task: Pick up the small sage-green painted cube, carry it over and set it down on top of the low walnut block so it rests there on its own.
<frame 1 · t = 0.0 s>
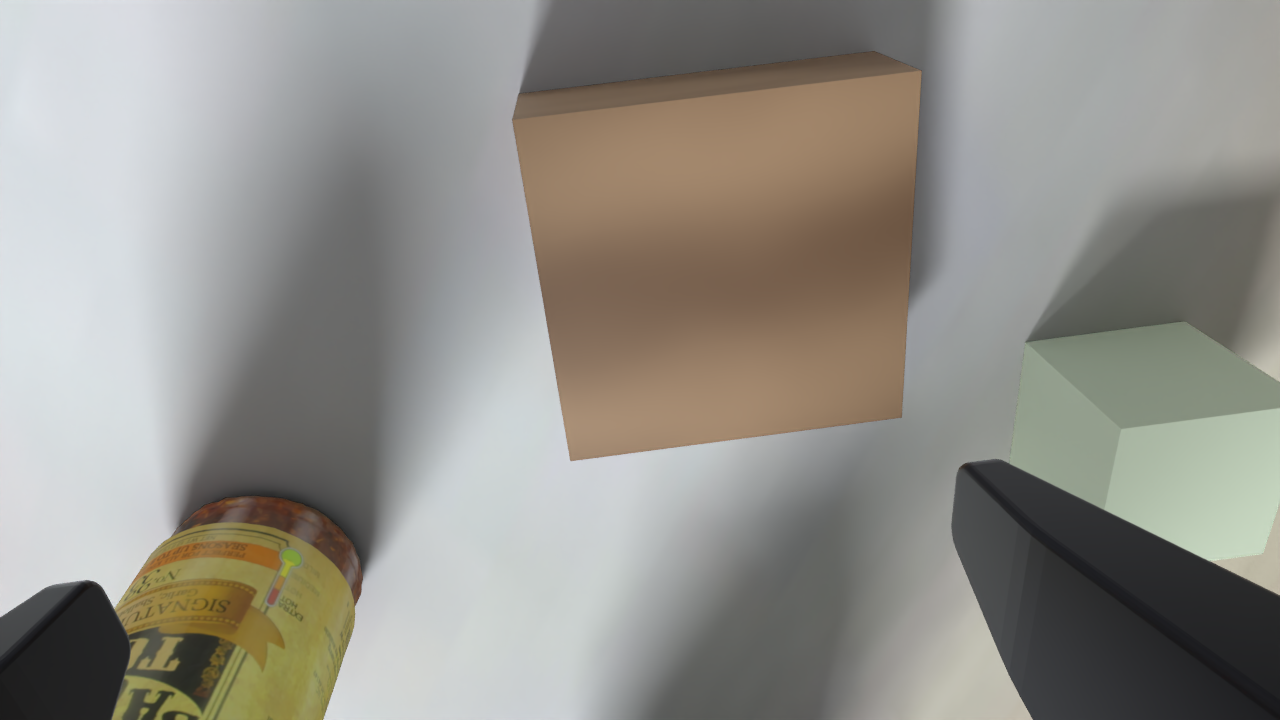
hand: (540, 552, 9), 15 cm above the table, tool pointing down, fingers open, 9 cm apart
sage cube: (1090, 399, 27), on the table
walnut block: (706, 237, 23), on the table
sauce bottle: (267, 558, 27), on the table
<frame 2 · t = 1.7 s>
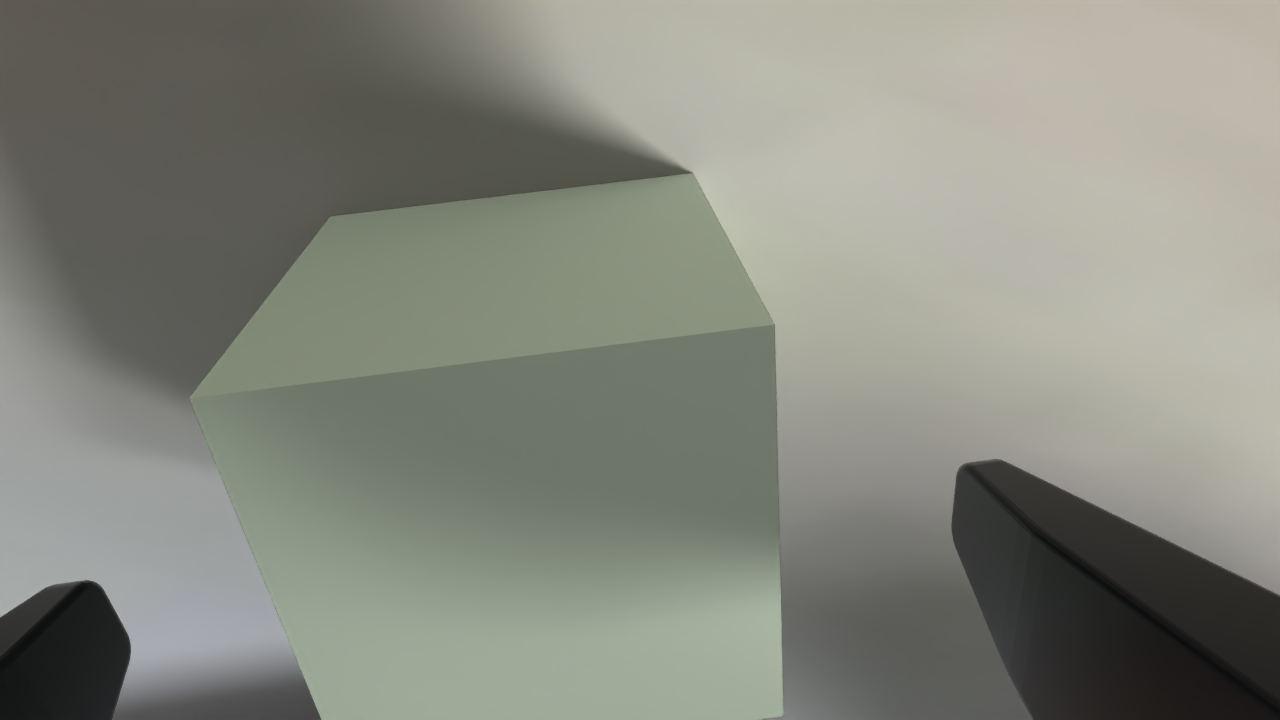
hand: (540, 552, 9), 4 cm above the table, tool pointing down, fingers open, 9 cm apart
sage cube: (540, 352, 13), on the table
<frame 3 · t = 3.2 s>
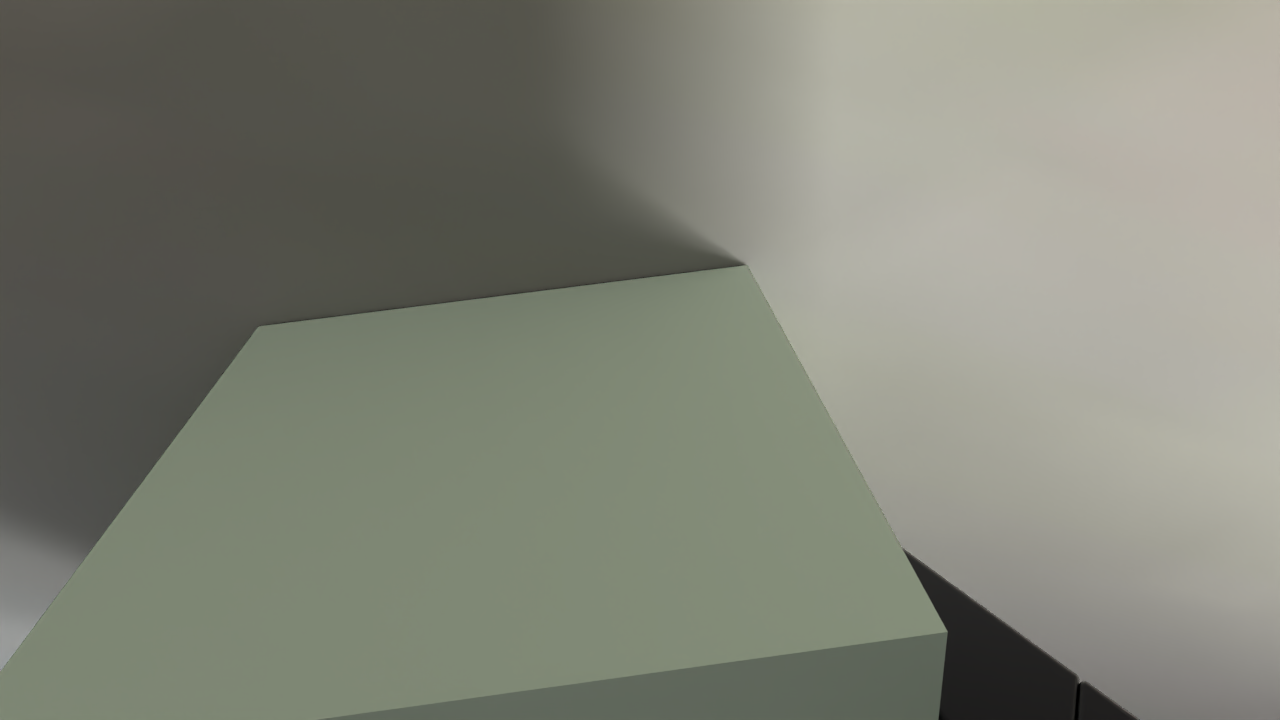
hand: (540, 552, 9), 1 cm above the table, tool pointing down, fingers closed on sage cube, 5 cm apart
sage cube: (542, 491, 10), on the table, touching gripper
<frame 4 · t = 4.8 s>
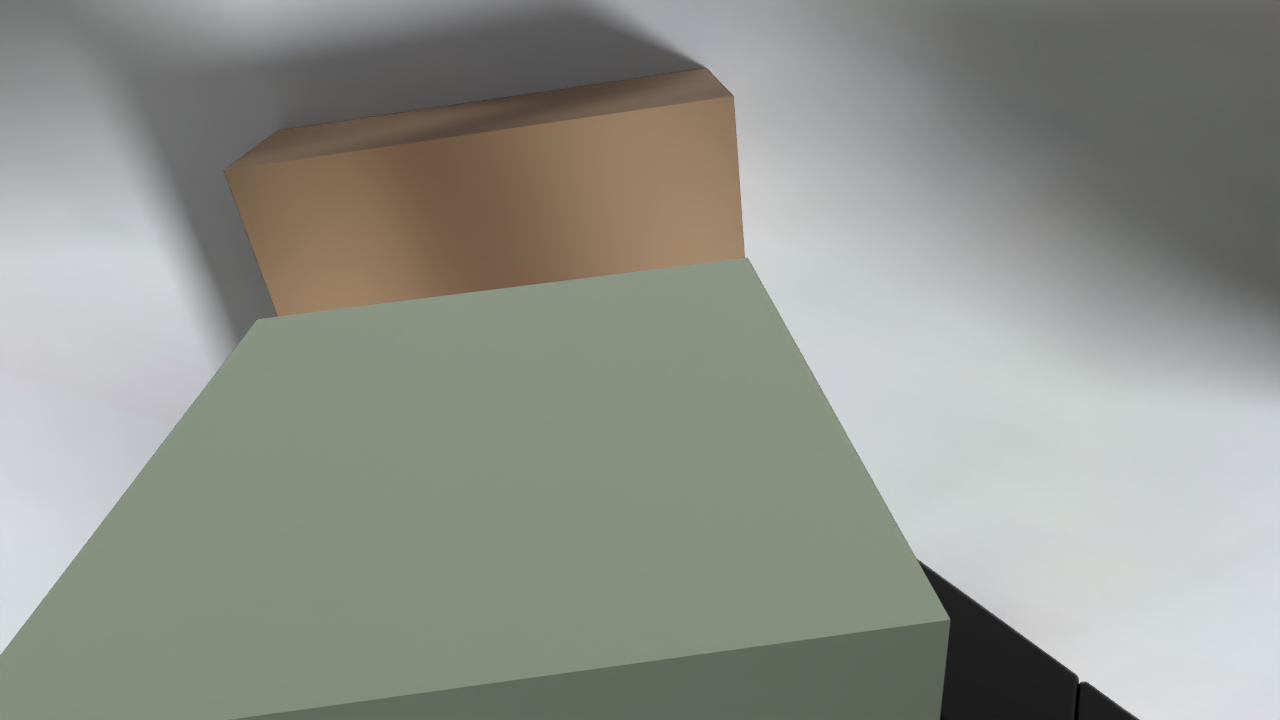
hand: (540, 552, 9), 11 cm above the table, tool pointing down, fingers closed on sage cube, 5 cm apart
sage cube: (542, 486, 10), point 10 cm above the table, touching gripper
walnut block: (533, 289, 20), on the table
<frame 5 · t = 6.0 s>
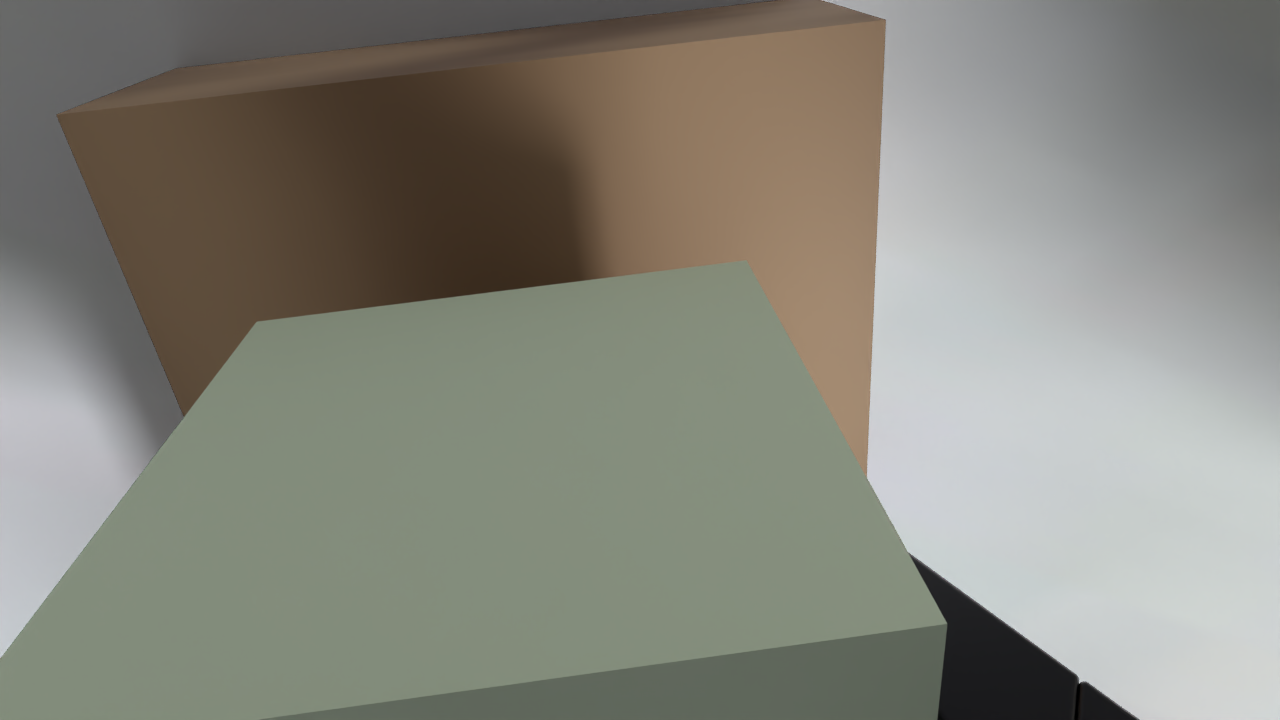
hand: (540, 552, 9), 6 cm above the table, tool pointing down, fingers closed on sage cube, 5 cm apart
sage cube: (541, 488, 10), point 5 cm above the table, touching gripper
walnut block: (544, 309, 14), on the table
when the fingers open (6 cm above the table, at t = 6.7 s): sage cube drops 2 cm, point 3 cm above the table.
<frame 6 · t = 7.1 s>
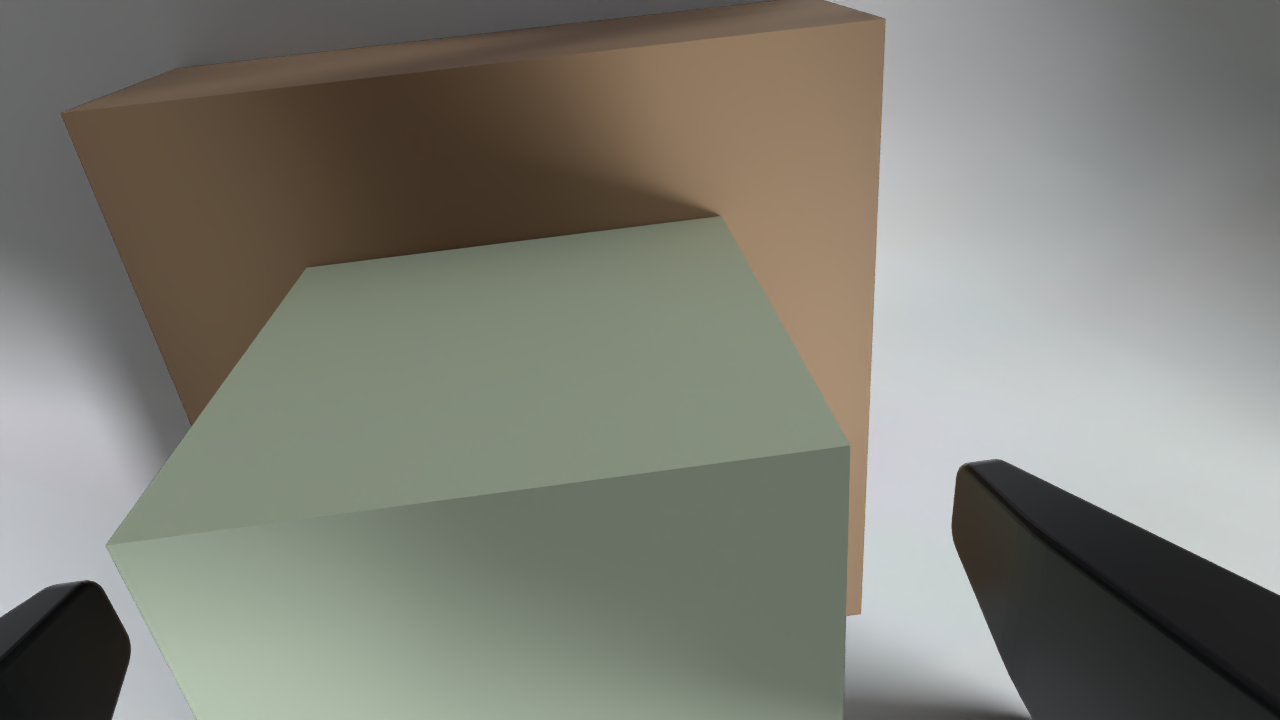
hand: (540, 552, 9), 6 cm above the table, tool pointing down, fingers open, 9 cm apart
sage cube: (547, 417, 11), point 3 cm above the table
walnut block: (545, 307, 14), on the table
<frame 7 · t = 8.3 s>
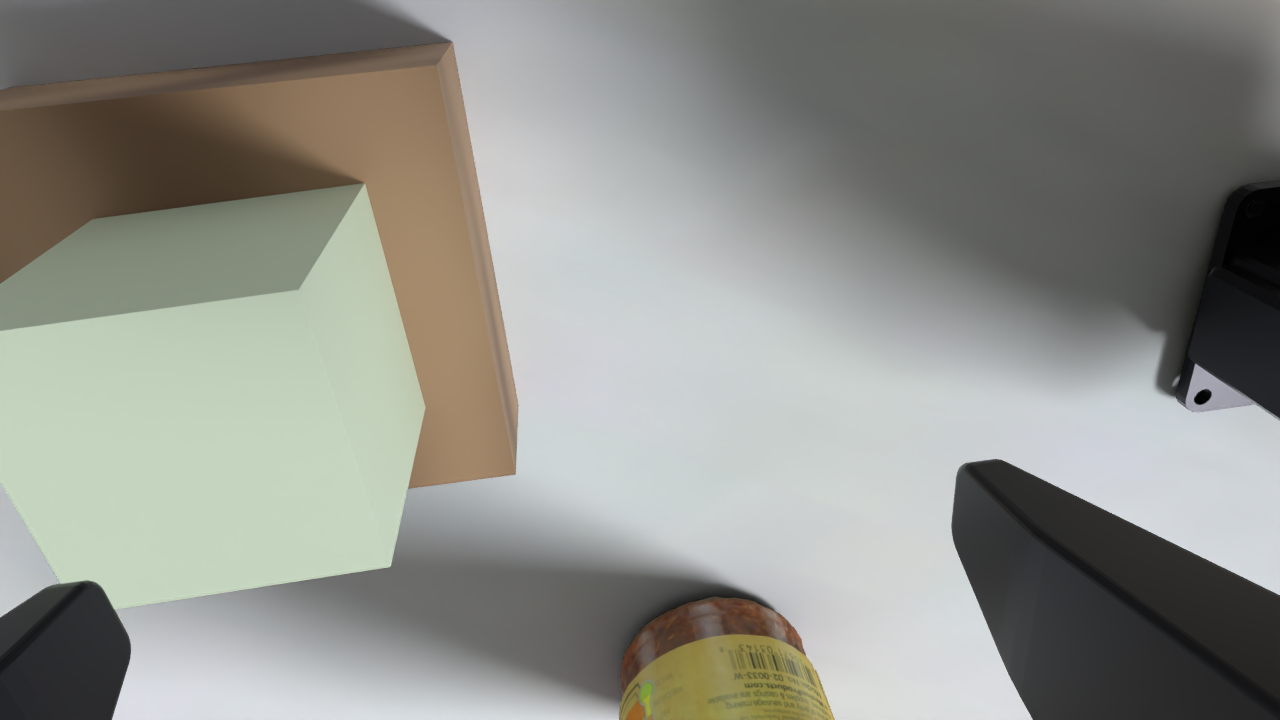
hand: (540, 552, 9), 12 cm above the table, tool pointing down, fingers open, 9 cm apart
sage cube: (272, 320, 17), point 3 cm above the table, touching walnut block
walnut block: (300, 259, 20), on the table, touching sage cube
sauce bottle: (710, 655, 27), on the table
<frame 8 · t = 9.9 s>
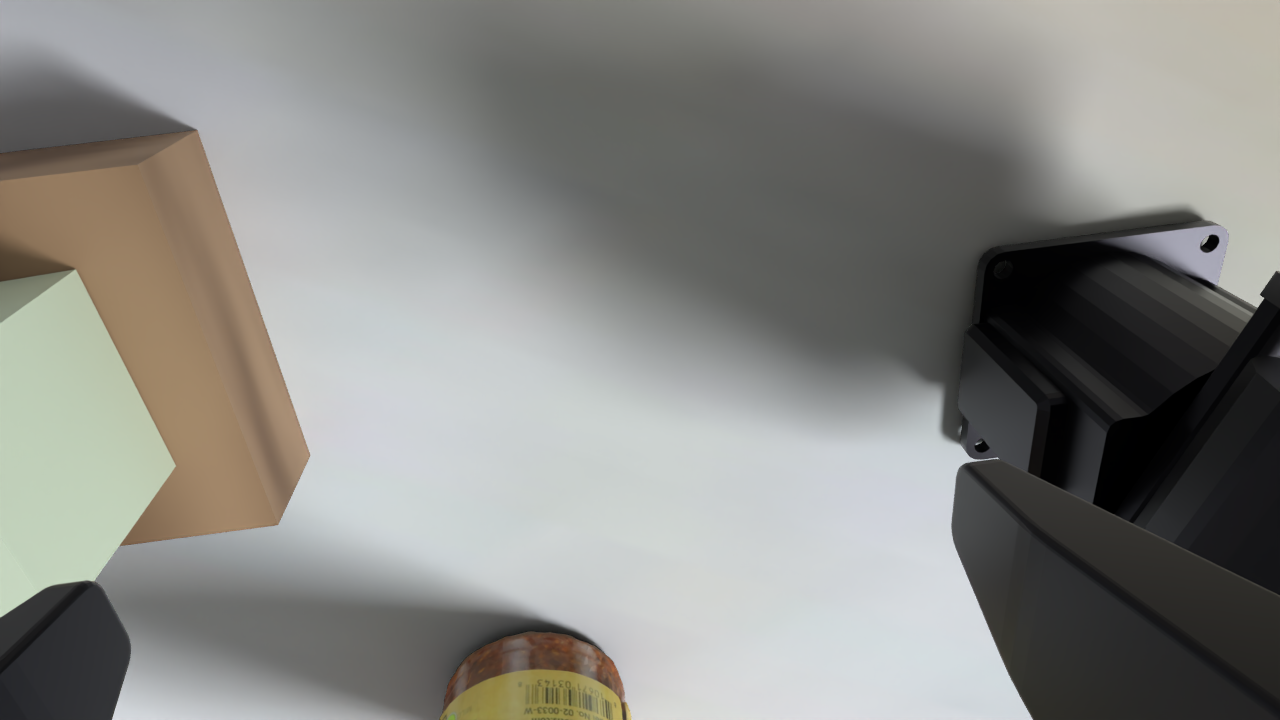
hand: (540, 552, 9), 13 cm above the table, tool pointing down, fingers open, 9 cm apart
sage cube: (16, 392, 18), point 3 cm above the table, touching walnut block
walnut block: (88, 323, 21), on the table, touching sage cube
sauce bottle: (540, 685, 28), on the table
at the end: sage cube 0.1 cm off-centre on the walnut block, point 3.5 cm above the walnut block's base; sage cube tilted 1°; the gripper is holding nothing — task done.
